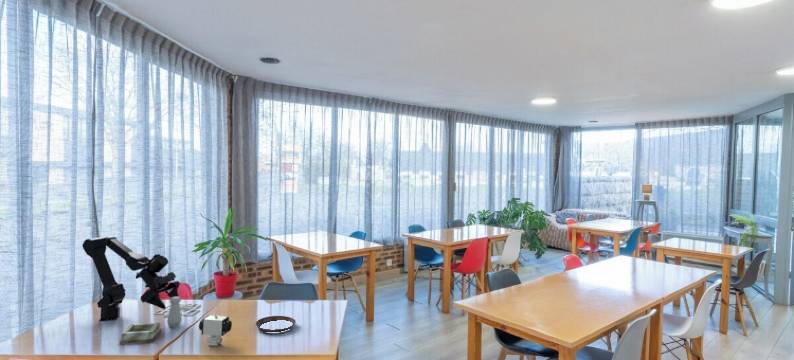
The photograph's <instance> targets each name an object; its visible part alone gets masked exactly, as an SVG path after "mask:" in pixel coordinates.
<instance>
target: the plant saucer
mask: <svg viewBox="0 0 794 360" xmlns="http://www.w3.org/2000/svg"><path fill="white" fill-rule="evenodd" d="M277 320H286V321H290V322H292V323H293V324H294V325H292V326H290V327H288V328H284V329H275V330H270V329H263V328H260V326H261V325H262V324H264V323H267V322H270V321H277ZM296 323H297V322H296V319H294V318H293V317H291V316H285V315H271V316H265V317H262V318H259V319H258V320H257V321H256V322H255V325H256V328H257V329H258V331H260V332H261V331H263V332H281V331H285V330H288V329H290V330H291V329H292V328H294V326H295V325H296ZM263 332H262V333H263Z"/></svg>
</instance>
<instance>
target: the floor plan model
mask: <svg viewBox="0 0 794 360" xmlns="http://www.w3.org/2000/svg"><path fill="white" fill-rule="evenodd" d="M179 305H180V311H182V312H183V313H182V312H181V317H182V316H184V317H192V316H195V315H196V314H198V313H199V312H201V309H200V308H201V307H202V303H188V302H187V303H179ZM165 307H166V308H165V309H162V308H160V309H159V310H157V311H155V312H153V315H160V316H161V315H162V316H163V318H168V316H169V312H170V308H171V303H170V304H168V305H165ZM165 312H166V313H165Z"/></svg>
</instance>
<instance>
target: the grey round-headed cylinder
mask: <svg viewBox="0 0 794 360" xmlns="http://www.w3.org/2000/svg"><path fill="white" fill-rule="evenodd" d="M169 298H170V297H169ZM181 302H182V301H181V297H180V296H179V297H177V296H176V297H172V298H170V299H169V303H170V304H171V306H170V307H171V308H170V309H169V310H170V312H169V316H168V317H167V321H166V322H167V325H168V328H169V327H170V328H176V327H179V326H180V325H181V323H182V320H183V319H182V316H181V313H182V312H181V310H180V305H179V304H180V303H181Z"/></svg>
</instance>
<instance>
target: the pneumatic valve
mask: <svg viewBox="0 0 794 360" xmlns="http://www.w3.org/2000/svg"><path fill="white" fill-rule="evenodd" d="M232 327H233V323H232V321H231V320H230V316H222V315H217V314H214V315H206V317H203V318H201V319H200V322H199V324H198V329H199V330H198V331H200V332H201V335H204V336H205V335H207V336H208V337H207V341H206V342H207V345H208V346H211V347H218V346H219V345H221V344H222V343H223V338H222V337H223V336H225V335H226V334H228V333H230V331H231V330H232Z"/></svg>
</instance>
